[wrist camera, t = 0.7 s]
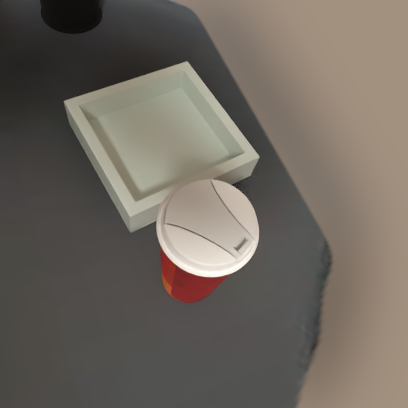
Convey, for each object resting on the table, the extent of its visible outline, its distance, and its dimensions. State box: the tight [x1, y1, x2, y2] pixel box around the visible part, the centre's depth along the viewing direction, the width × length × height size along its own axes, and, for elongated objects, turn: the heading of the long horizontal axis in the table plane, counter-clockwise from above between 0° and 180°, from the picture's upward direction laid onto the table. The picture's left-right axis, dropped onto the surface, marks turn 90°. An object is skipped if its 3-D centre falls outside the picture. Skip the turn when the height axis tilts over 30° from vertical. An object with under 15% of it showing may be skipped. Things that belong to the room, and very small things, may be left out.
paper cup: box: [156, 179, 259, 303], centre depth 33 cm, size 8×8×14 cm
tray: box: [64, 61, 259, 233], centre depth 44 cm, size 16×16×4 cm
